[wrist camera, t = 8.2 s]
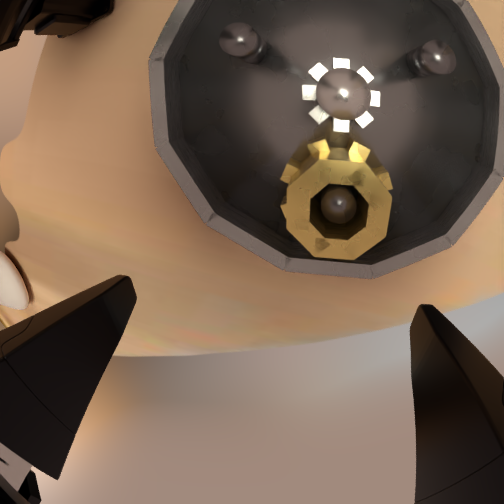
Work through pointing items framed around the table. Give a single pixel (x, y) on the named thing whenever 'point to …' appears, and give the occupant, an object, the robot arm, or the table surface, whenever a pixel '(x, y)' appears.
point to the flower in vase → (12, 285)
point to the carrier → (330, 117)
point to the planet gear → (309, 209)
